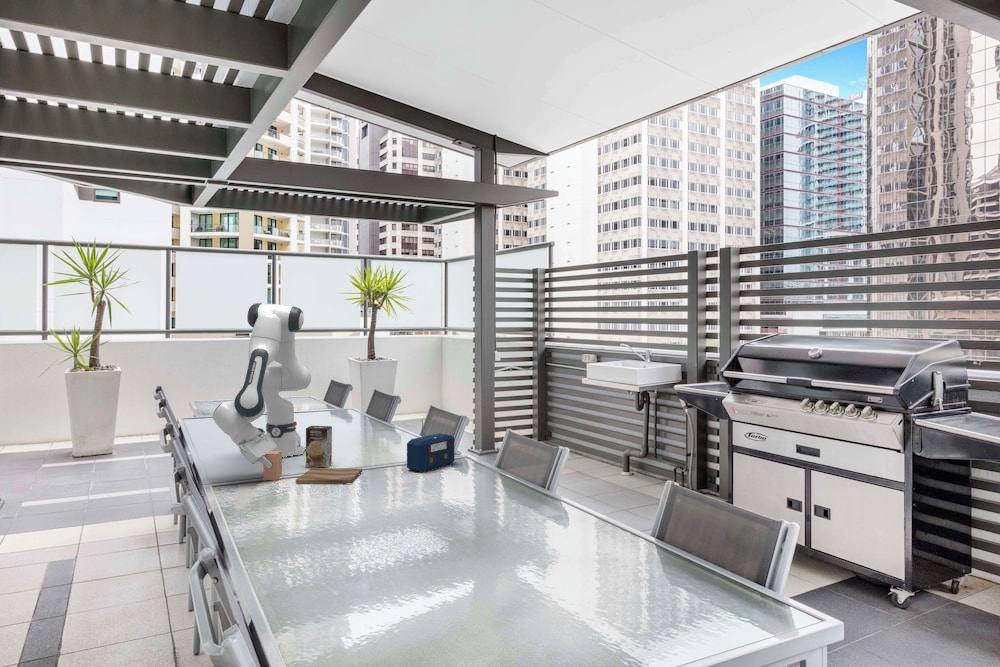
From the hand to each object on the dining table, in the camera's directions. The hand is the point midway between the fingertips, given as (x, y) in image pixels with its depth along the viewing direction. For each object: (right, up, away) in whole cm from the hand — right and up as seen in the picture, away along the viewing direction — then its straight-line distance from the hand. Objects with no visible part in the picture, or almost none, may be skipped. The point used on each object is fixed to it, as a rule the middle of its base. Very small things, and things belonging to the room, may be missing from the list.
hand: (274, 464), depth 239 cm
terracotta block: (-1, -5, 0) cm, 5 cm away
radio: (+57, -5, +19) cm, 60 cm away
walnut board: (+20, -5, +2) cm, 21 cm away
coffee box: (+11, -5, +21) cm, 24 cm away
